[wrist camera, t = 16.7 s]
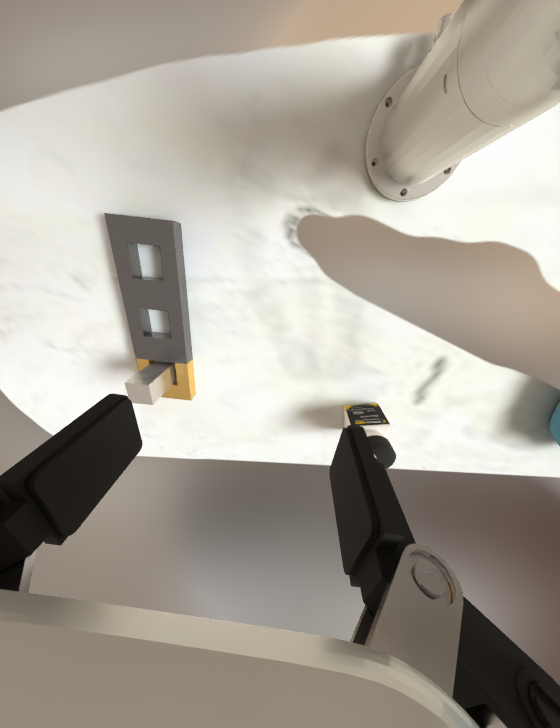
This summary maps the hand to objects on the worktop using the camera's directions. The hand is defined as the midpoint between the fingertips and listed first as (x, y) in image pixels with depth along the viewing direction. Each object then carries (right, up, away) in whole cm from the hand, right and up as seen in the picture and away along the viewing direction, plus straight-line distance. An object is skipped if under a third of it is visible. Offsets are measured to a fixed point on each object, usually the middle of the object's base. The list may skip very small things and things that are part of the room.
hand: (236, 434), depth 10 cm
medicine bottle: (+20, -8, +39) cm, 44 cm away
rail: (-20, +11, +31) cm, 39 cm away
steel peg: (-21, +3, +35) cm, 41 cm away
